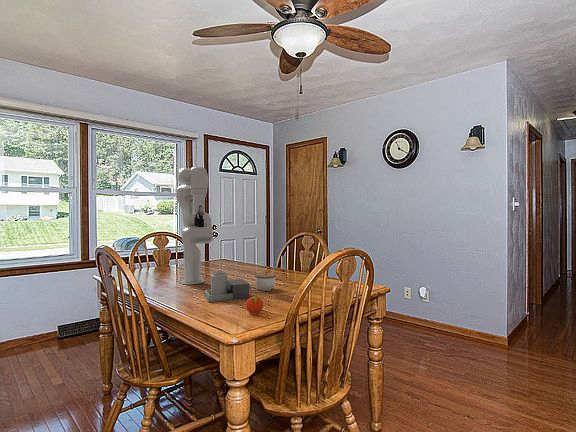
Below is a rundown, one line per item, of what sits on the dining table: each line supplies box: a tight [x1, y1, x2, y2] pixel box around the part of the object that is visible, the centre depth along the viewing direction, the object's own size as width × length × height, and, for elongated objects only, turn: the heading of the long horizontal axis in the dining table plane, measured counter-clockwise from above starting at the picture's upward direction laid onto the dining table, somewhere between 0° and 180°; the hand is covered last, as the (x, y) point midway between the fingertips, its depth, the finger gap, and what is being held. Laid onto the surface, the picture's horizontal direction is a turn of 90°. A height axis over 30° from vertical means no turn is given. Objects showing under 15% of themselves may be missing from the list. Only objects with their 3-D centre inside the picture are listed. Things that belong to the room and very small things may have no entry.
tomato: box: [245, 295, 264, 315], centre depth 144 cm, size 8×7×7 cm
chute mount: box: [203, 278, 250, 303], centre depth 171 cm, size 12×19×7 cm, turn 112°
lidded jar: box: [254, 270, 277, 292], centre depth 188 cm, size 11×11×9 cm
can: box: [210, 270, 228, 295], centre depth 170 cm, size 8×8×12 cm
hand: (199, 226), depth 180 cm, fingers open, 9 cm apart
